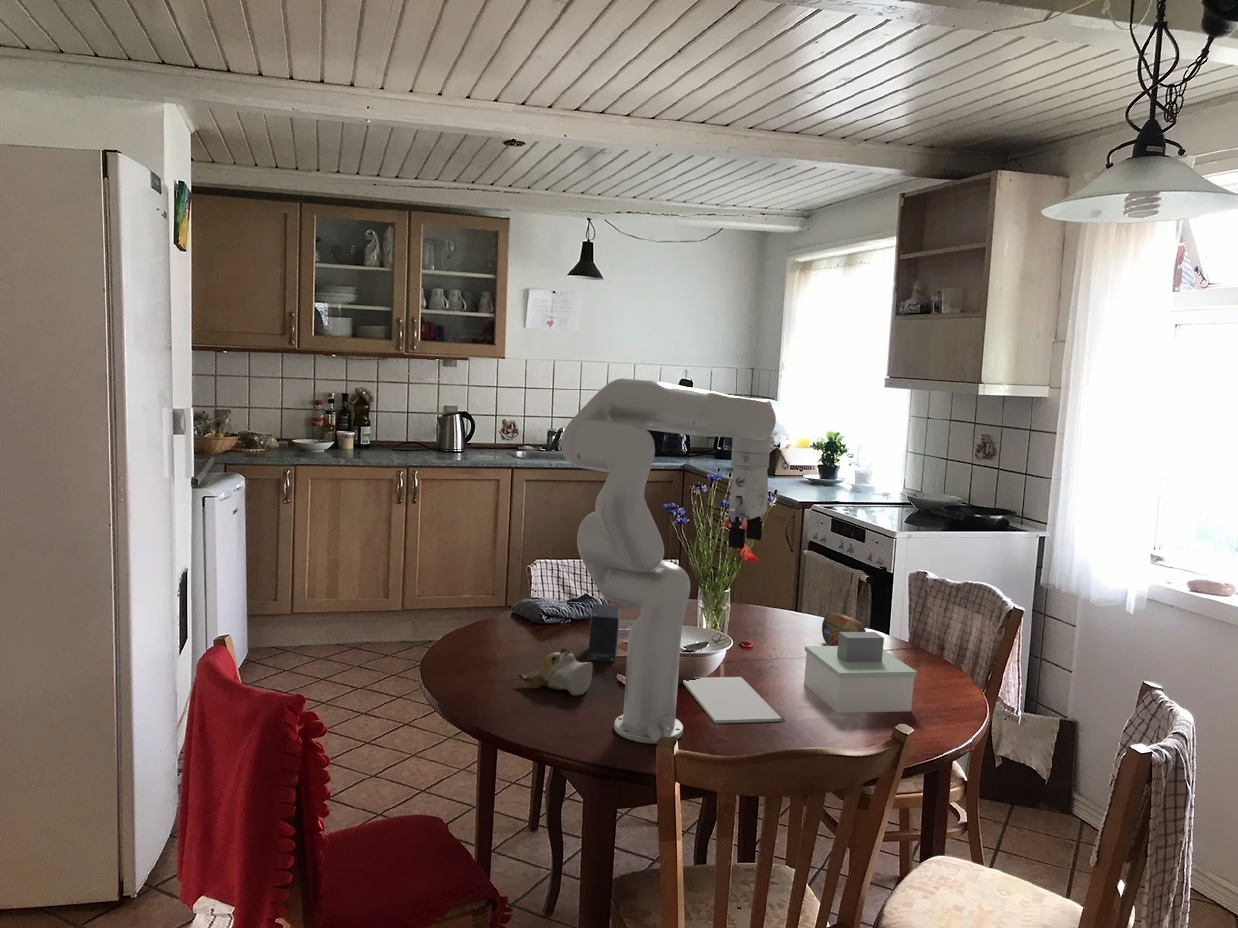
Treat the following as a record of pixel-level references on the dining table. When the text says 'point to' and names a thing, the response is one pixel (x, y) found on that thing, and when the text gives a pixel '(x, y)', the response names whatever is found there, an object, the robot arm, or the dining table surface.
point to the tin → (838, 627)
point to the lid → (860, 657)
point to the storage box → (858, 690)
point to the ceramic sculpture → (562, 673)
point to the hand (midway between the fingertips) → (745, 543)
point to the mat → (731, 700)
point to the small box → (603, 633)
